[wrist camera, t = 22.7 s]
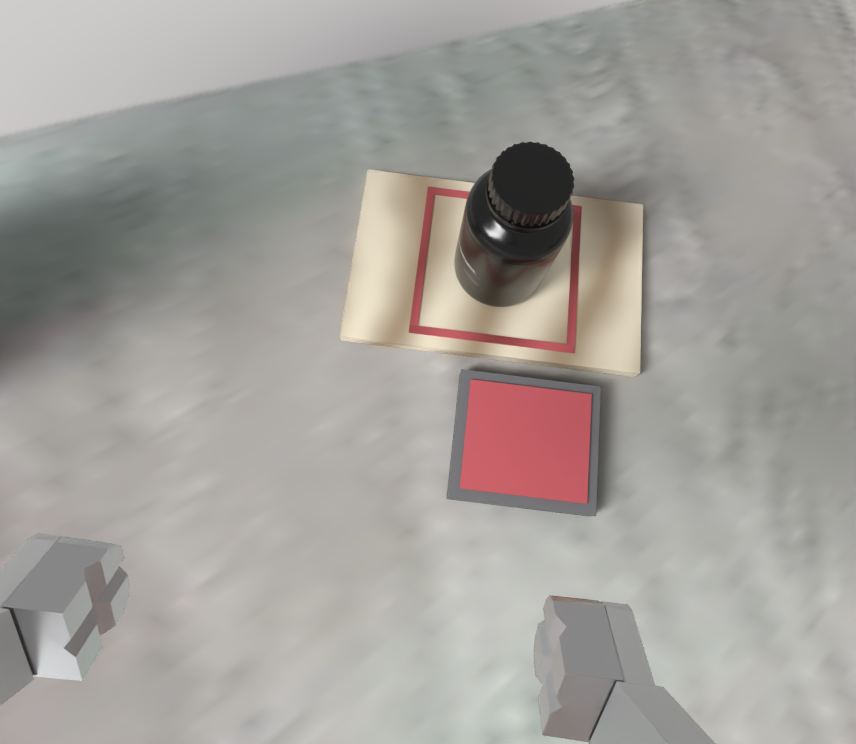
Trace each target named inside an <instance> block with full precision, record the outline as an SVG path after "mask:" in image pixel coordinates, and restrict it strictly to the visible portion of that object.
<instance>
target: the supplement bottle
mask: <svg viewBox="0 0 856 744" xmlns="http://www.w3.org/2000/svg"><path fill="white" fill-rule="evenodd" d="M572 174H573V171H572V169H571V168H570V164H569V163H568V162H567V161H566V158H565V157H563V156H562V155H561V153H560V152H558V151H556V150H555V149H554V148H552V147H548V146H547V145H545V144H540V143H533V142H527V143H524V142H522V143H520V144H514V145H513V146H512V147H508V148H507V149H506V151H503V152H502V153H501V155H500V156H498V157H497V158H496V161H495V163H494V164H493V166H492V169H490V170H489V171H487V172H486V173H484V174H483V175H482V176H481V177H480V178H479V179H478V180H477V181H476V182H475V184H474V185H473V187H472V188H471V190H470V192H469V195H468V198H467V201H466V205H465V209H464V214H463V219H462V223H461V228H460V233H459V237H458V242H457V247H456V252H455V259H454V267H455V273H456V276H457V279H458V281H459V283H460V285H461V286H462V288H463V289H464V290H465V292H466V293H467V294H468V295H470V296H471V297H472V298H473V299H475V300H477V301H478V302H480V303H483V304H485V305H488V306H493V307H508V306H513V305H516V304H519V303H521V302H523V301H525V300H526V299H528V298H529V297H530V296H531V295H532V294H533V293H534V292H535V291H536V290H537V288H538V287H539V285H540V284H541V282H542V281H543V279H544V277H545V276H546V274H547V272H548V270H549V269H550V267H551V265H552V264H553V262H554V260H555V259H556V257H557V255H558V254H559V252H560V250H561V249H562V247H563V245H564V244H565V242H566V240H567V238H568V236H569V234H570V231H571V228H572V224H573V206H572V202H571V199H570V198H571V196H572V193H573V188H574V183H573V181H574V177H573V175H572Z"/></svg>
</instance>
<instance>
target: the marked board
mask: <svg viewBox="0 0 856 744" xmlns="http://www.w3.org/2000/svg"><path fill="white" fill-rule="evenodd" d="M474 184H475V183H471V182H463V181H455V180H447V179H440V178H432V177H424V176H416V175H408V174H400V173H393V172H385V171H377V170H369V169H367V175H366V182H365V188H364V194H363V200H362V206H361V212H360V218H359V224H358V230H357V236H356V242H355V248H354V254H353V260H352V266H351V272H350V278H349V284H348V290H347V296H346V302H345V308H344V314H343V320H342V326H341V332H340V338H341V340H342V341H350V342H358V343H366V344H374V345H382V346H390V347H398V348H406V349H414V350H422V351H430V352H438V353H446V354H454V355H462V356H470V357H478V358H486V359H494V360H502V361H510V362H519V363H527V364H535V365H543V366H551V367H559V368H567V369H575V370H583V371H591V372H599V373H607V374H615V375H623V376H631V377H636V376H637V375H638V374H640V352H641V298H642V243H643V204H635V203H628V202H620V201H612V200H604V199H596V198H588V197H581V196H573V195H572V196H571V198H570V199H571V202H572V206H573V224H572V228H571V231H570V234H569V236H568V238H567V240H566V242H565V244H564V245H563V247H562V249H561V250H560V252H559V254H558V255H557V257H556V259H555V260H554V262H553V264H552V265H551V267H550V269H549V270H548V272H547V274H546V276H545V277H544V279H543V281H542V282H541V284H540V285H539V287H538V288H537V290H536V291H535V292H534V293H533V294H532V295H531V296H530V297H529V298H528V299H526V300H525V301H523V302H521V303H519V304H516V305H513V306H508V307H493V306H488V305H485V304H483V303H480V302H478V301H477V300H475V299H473V298H472V297H471V296H470V295H468V294H467V293H466V292H465V290H464V289H463V288H462V286H461V285H460V283H459V281H458V279H457V276H456V273H455V267H454V259H455V252H456V247H457V242H458V237H459V233H460V228H461V223H462V219H463V214H464V209H465V205H466V201H467V198H468V195H469V192H470V190H471V188H472V187H473V185H474Z"/></svg>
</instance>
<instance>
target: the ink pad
mask: <svg viewBox="0 0 856 744" xmlns="http://www.w3.org/2000/svg"><path fill="white" fill-rule="evenodd" d="M600 397H601V386H593V385H585V384H577V383H569V382H560V381H552V380H544V379H536V378H528V377H520V376H512V375H504V374H496V373H488V372H480V371H472V370H464V369H462V370H461V373H460V377H459V386H458V396H457V405H456V415H455V424H454V434H453V443H452V453H451V462H450V472H449V481H448V491H447V499H451V500H459V501H468V502H476V503H484V504H492V505H500V506H509V507H517V508H525V509H533V510H542V511H550V512H558V513H566V514H575V515H583V516H596V505H597V478H598V451H599V424H600Z"/></svg>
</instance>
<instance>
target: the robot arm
mask: <svg viewBox="0 0 856 744" xmlns="http://www.w3.org/2000/svg"><path fill="white" fill-rule="evenodd" d="M124 558H125V557H124V554H123V550H122V546H121V545H117V544H112V543H105V542H98V541H91V540H85V539H78V538H71V537H63V536H55V535H48V534H41V533H37V534H36V535H34V536H32V537H30V538H29V539H27V541H26V542H25V543H24V544H23V545H22V546H21V547H20V548H19V550H18V551H17V552H16V553H15V554H14V555H13V556H12V557H11V559H10V560H9V561H8V562H7V563H6V564H5V565H4V566H3V568H2V569H1V570H0V705H2V704H3V703H4V702H6V701H7V700H8V699H9V698H11V697H12V696H13V695H15V694H16V693H17V692H19V691H20V690H21V689H22V688H24V687H25V686H26V685H28V684H29V683H30V682H32V681H33V680H34V677H44V678H55V679H67V680H78V681H83V679H84V677H85V676H86V674H87V672H88V671H89V669H90V667H91V666H92V664H93V662H94V661H95V659H96V657H97V656H98V654H99V653H100V651H101V649H102V648H103V646H102V640H101V635H102V634H104V633H105V632H107V631H108V630H110V629H111V628H113V627H114V626H116V624H117V622H118V621H119V619H120V617H121V615H122V614H123V612H124V609H125V606H126V603H127V600H128V597H129V586H130V583H129V578H128V574H127V573H126V572H125V571H124V570H123V569H122V568H121V567H120V564H121V563H122V561H123V560H124ZM543 610H544V617H545V620H544V621H542V622H540V623H539V624H538V627H537V631H536V635H535V643H534V668H535V676H536V677H537V678H538V680H539V681H540V682H541V684H542V688H541V691H540V694H539V697H538V703H539V711H540V719H541V727H542V735H544V736H551V737H558V738H565V739H571V740H578V741H585V742H589V744H715V742H714V741H713V740H712V739H711V738H710V737H709V736H708V735H707V734H706V733H705V732H704V731H703V729H702V728H701V727H700V726H699V725H698V724H697V723H696V722H695V721H694V720H693V719H692V717H691V716H690V715H689V714H688V713H687V712H686V711H685V710H684V709H683V708H682V707H681V706H680V704H679V703H678V702H677V701H676V700H675V699H674V698H673V697H672V696H671V695H670V694H669V693H668V691H667V690H666V689H665V688H664V687H660V686H655V683H654V680H653V677H652V673H651V670H650V667H649V664H648V660H647V657H646V654H645V651H644V647H643V644H642V641H641V638H640V634H639V631H638V628H637V625H636V621H635V618H634V615H633V612H632V609H631V608H630V607H629V605H627V604H619V603H611V602H600V601H597V600H588V599H578V598H569V597H560V596H550V595H549V597H548V598H547V599H546V602H545V605H544V608H543Z"/></svg>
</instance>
